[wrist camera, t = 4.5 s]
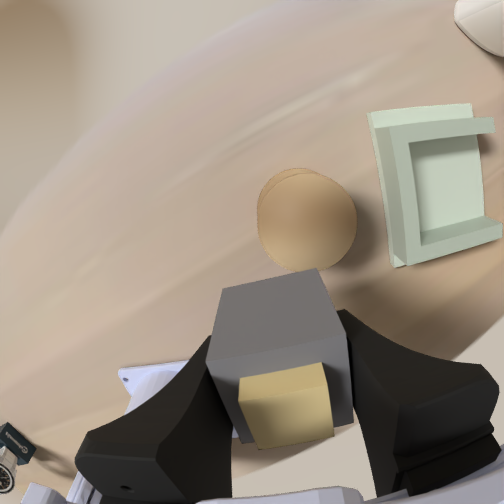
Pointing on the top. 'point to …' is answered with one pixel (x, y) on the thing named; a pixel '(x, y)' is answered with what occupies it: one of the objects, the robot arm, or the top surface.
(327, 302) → the plug
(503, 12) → the eye dropper bottle
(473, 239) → the notched board
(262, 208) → the spool
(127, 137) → the top surface
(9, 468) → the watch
